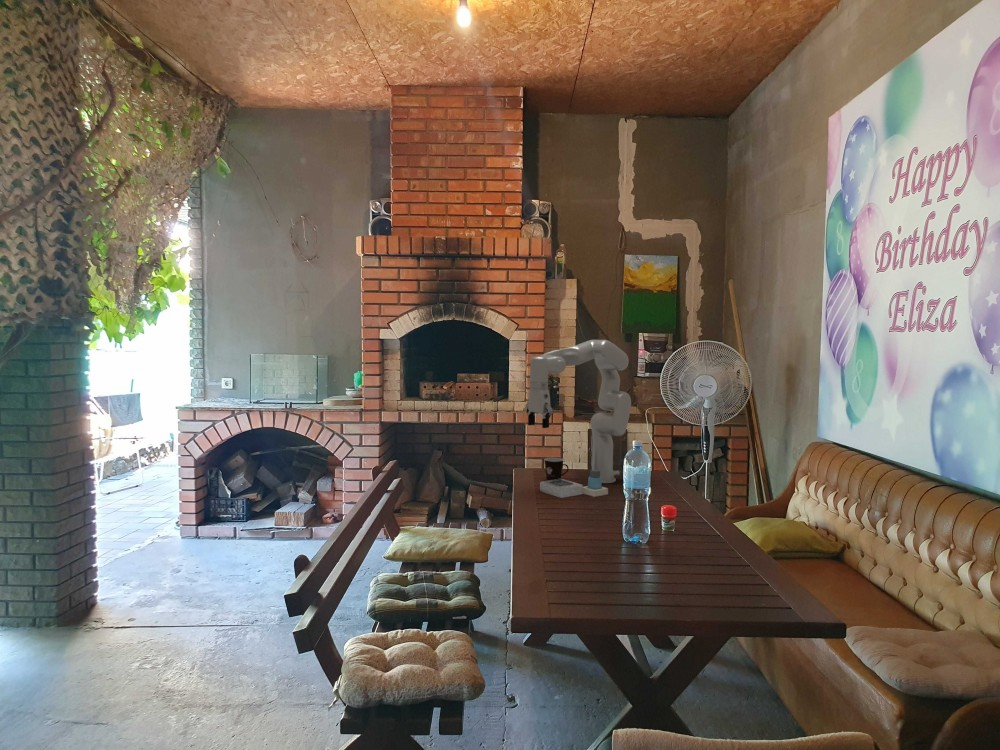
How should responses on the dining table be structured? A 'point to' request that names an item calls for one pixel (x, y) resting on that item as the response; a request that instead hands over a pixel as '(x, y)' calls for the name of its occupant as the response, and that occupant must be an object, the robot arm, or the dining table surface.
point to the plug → (594, 480)
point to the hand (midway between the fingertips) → (538, 426)
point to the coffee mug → (554, 468)
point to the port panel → (561, 488)
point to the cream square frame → (595, 491)
